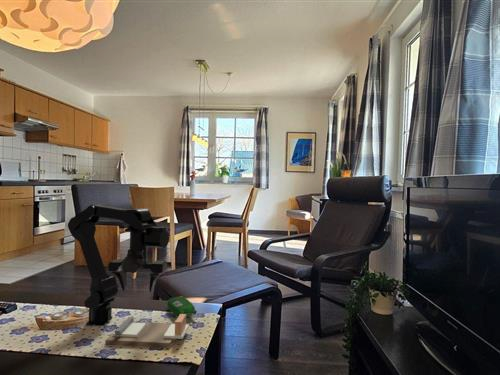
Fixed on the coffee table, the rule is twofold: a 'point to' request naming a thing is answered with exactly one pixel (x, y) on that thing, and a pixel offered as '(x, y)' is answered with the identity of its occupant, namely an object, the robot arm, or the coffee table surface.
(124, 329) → the white tray
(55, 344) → the coffee table surface
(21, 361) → the coffee table surface
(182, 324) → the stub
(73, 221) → the robot arm
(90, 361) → the coffee table surface
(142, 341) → the board
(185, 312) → the snack package
